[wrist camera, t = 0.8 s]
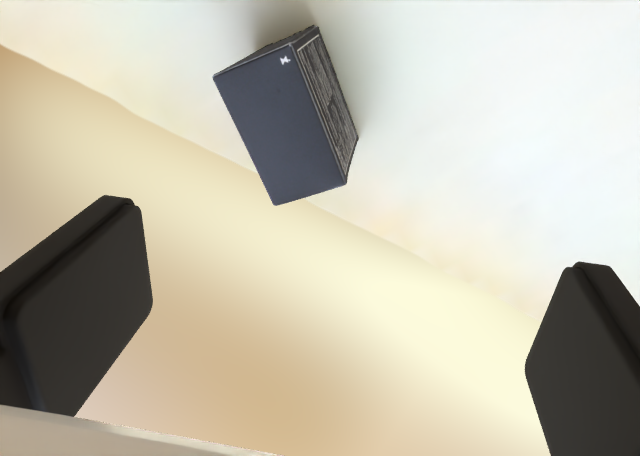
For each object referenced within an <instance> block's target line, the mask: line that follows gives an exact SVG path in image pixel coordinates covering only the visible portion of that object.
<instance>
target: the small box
mask: <svg viewBox="0 0 640 456" xmlns="http://www.w3.org/2000/svg"><path fill="white" fill-rule="evenodd" d="M213 80H214V82H215V84H216V86H217V88H218V90H219V92H220V94H221V97H222V99H223V101H224V103H225V105H226V107H227V109H228V111H229V113H230V115H231V117H232V119H233V121H234V123H235V125H236V127H237V129H238V132H239V134H240V136H241V138H242V140H243V142H244V144H245V146H246V148H247V150H248V152H249V154H250V157H251V159H252V161H253V163H254V165H255V167H256V169H257V171H258V173H259V175H260V178H261V180H262V182H263V184H264V186H265V188H266V190H267V192H268V194H269V196H270V199H271V201H272V203H273V205H276V206H277V205H280V204H284V203H288V202H292V201H295V200H298V199H301V198H305V197H308V196H312V195H315V194H318V193H321V192H324V191H328V190H331V189H334V188H337V187H341V186H343V185H345V184H346V183H347V176H348V171H349V167H350V164H351V160H352V157H353V154H354V150H355V147H356V144H357V141H358V136H357V133H356V130H355V127H354V124H353V121H352V119H351V116H350V113H349V110H348V108H347V104H346V102H345V99H344V97H343V94H342V91H341V88H340V86H339V82H338V80H337V77H336V73H335V71H334V68H333V66H332V63H331V60H330V57H329V55H328V52H327V50H326V47H325V44H324V42H323V39H322V36H321V34H320V31H319V27H317V26H314V25H312V26H311V27H308V28H307V29H305V30H304V31H302V32H301V31H300V32H299V33H295V34H293V36H289V37H288V38H285V39H283V40H280V41H278V42H276V43H274V44H273V43H271V44H270V45H267V46H265V47H264V48H262V49H260V50H258V51H256V52H254V53H253V54H251V55H249V56H247V57H246V58H244V59H242V60H240V61H238V62H237V63H235V64H233V65H231V66H230V67H227V68H226V69H224V70H222V71H220V72H218V73H216V74H214V75H213Z"/></svg>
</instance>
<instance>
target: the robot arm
mask: <svg viewBox="0 0 640 456" xmlns="http://www.w3.org/2000/svg"><path fill="white" fill-rule="evenodd" d="M150 283H151V282H150V275H149V267H148V260H147V252H146V245H145V237H144V229H143V222H142V214H141V210H140V208H139V207H138V206H135V205H134V203H133V201H132V200H131V199H129V198H122V197H115V196H108V195H104V196H102V197H100V198H99V199H98V200H96V201H95V202H94V203H92V204H91V205H90V206H88V207H87V208H86V209H84V210H83V211H82V212H80V213H79V214H78V215H76V216H75V217H74V218H72V219H71V220H70V221H68V222H67V223H66V224H64V225H63V226H62V227H60V228H59V229H58V230H56V231H55V232H53V233H52V234H51V235H50V236H48V237H47V238H46V239H44V240H43V241H41V242H40V243H39V244H37V245H36V246H35V247H33V248H32V249H31V250H29V251H28V252H27V253H25V254H24V255H23V256H21V257H20V258H19V259H17V260H16V261H15V262H13V263H12V264H11V265H9V266H8V267H7V268H5V269H4V270H3V271H2V272H0V456H283V455H278V454H272V453H267V452H262V451H256V450H251V449H246V448H240V447H235V446H230V445H224V444H219V443H214V442H207V441H203V440H197V439H192V438H186V437H181V436H175V435H169V434H165V433H159V432H154V431H148V430H143V429H136V428H132V427H126V426H121V425H115V424H110V423H104V422H98V421H92V420H88V419H82V418H77V417H74V416H75V415H76V414H77V412H78V411H79V409H80V408H81V407H82V405H83V404H84V403H85V401H86V400H87V399H88V397H89V396H90V394H91V393H92V392H93V390H94V389H95V388H96V386H97V385H98V384H99V382H100V381H101V379H102V378H103V377H104V375H105V374H106V373H107V371H108V370H109V368H110V367H111V366H112V364H113V363H114V362H115V360H116V359H117V358H118V356H119V355H120V353H121V352H122V350H123V349H124V348H125V347H126V345H127V344H128V343H129V341H130V340H131V338H132V337H133V336H134V334H135V333H136V332H137V330H138V329H139V327H140V326H141V325H142V323H143V322H144V321H145V319H146V318H147V317H148V315H149V313H150V311H151V308H152V303H153V298H152V290H151V284H150ZM525 375H526V379H527V382H528V385H529V388H530V392H531V394H532V398H533V401H534V404H535V407H536V410H537V414H538V417H539V420H540V423H541V426H542V429H543V432H544V435H545V438H546V442H547V445H548V448H549V451H550V454H551V456H640V306H639V305H638V304H637V302H636V301H635V300H634V298H633V297H632V295H631V294H630V293H629V291H628V290H627V289H626V287H625V286H624V284H623V283H622V282H621V280H620V279H619V278H618V276H617V275H616V274H615V272H614V271H613V269H612V268H611V267H609V266H606V265H599V264H592V263H585V262H577V263H575V264H574V265H573V267H567V268H565V269H564V270H563V272H562V274H561V277H560V279H559V282H558V284H557V287H556V289H555V291H554V294H553V296H552V299H551V301H550V303H549V306H548V308H547V311H546V313H545V316H544V318H543V320H542V323H541V325H540V328H539V330H538V333H537V335H536V337H535V340H534V342H533V345H532V347H531V349H530V352H529V354H528V357H527V359H526V364H525Z"/></svg>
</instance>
